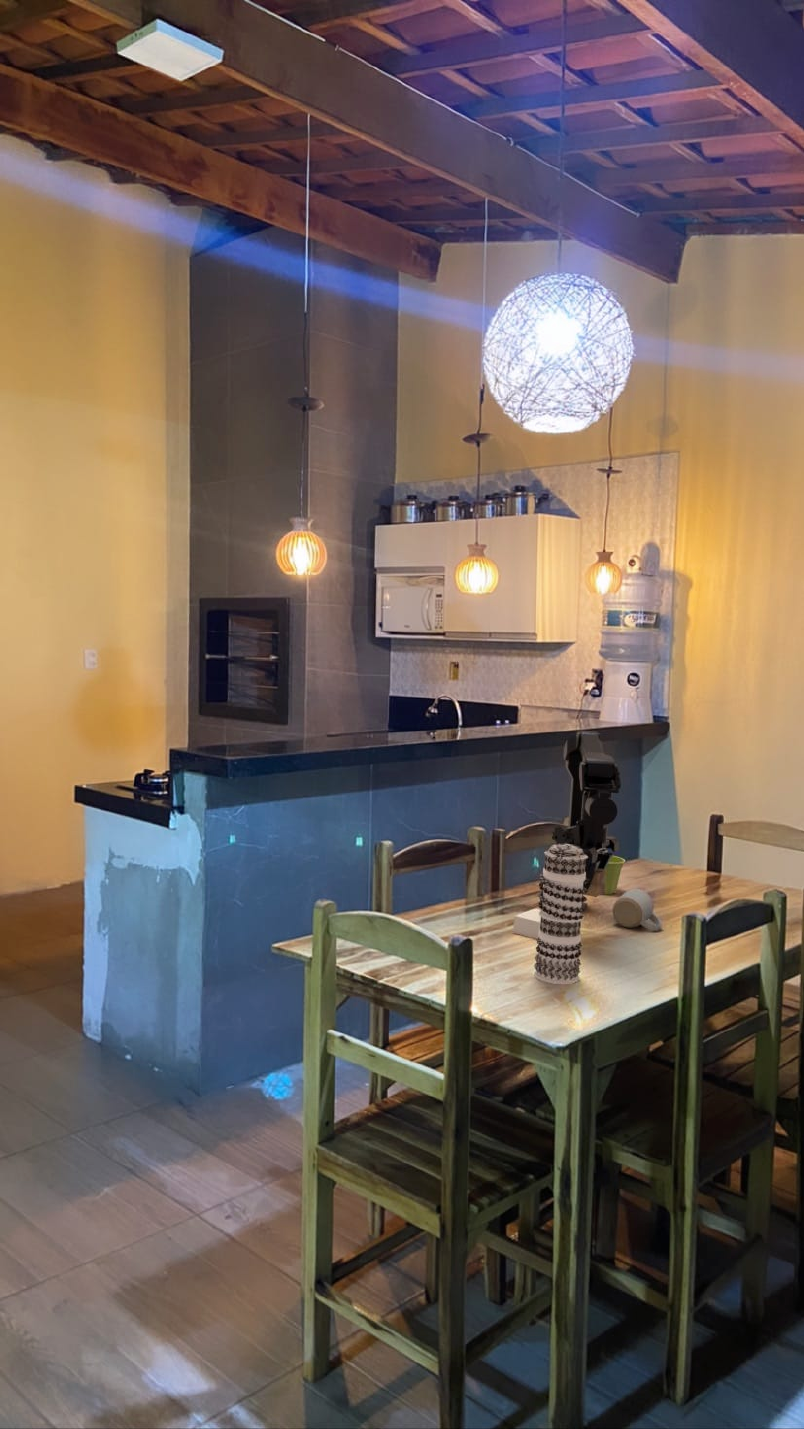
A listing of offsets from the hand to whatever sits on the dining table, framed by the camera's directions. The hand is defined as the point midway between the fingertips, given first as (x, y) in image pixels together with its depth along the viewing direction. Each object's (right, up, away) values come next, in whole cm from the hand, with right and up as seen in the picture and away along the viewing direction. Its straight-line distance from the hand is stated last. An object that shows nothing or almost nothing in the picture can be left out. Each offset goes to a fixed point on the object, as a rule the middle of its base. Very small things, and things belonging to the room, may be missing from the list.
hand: (589, 887), depth 219 cm
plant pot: (+12, -9, +43) cm, 45 cm away
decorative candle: (-11, -13, -26) cm, 31 cm away
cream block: (-10, -11, +2) cm, 15 cm away
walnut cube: (0, -1, 0) cm, 1 cm away
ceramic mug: (+13, -11, +13) cm, 21 cm away
